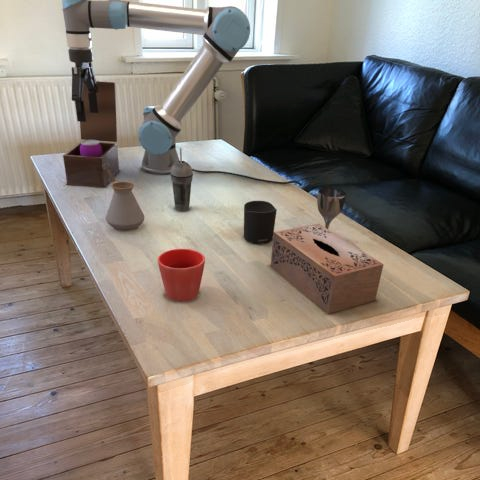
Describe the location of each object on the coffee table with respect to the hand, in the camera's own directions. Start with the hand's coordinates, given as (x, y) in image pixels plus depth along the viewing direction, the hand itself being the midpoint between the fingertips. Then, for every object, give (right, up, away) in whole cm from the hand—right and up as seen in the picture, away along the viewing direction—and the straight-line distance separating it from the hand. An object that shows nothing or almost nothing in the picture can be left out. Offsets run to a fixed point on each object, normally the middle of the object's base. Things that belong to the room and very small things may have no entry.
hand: (88, 116), depth 178 cm
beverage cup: (+34, -34, -9) cm, 49 cm away
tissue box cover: (+74, -61, -46) cm, 107 cm away
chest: (-1, -18, +12) cm, 21 cm away
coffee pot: (+16, -40, -20) cm, 47 cm away
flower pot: (+39, -65, -54) cm, 93 cm away
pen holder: (+58, -47, -26) cm, 79 cm away
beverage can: (-1, -17, +11) cm, 21 cm away
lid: (+1, +6, +9) cm, 11 cm away
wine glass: (+78, -47, -25) cm, 95 cm away
